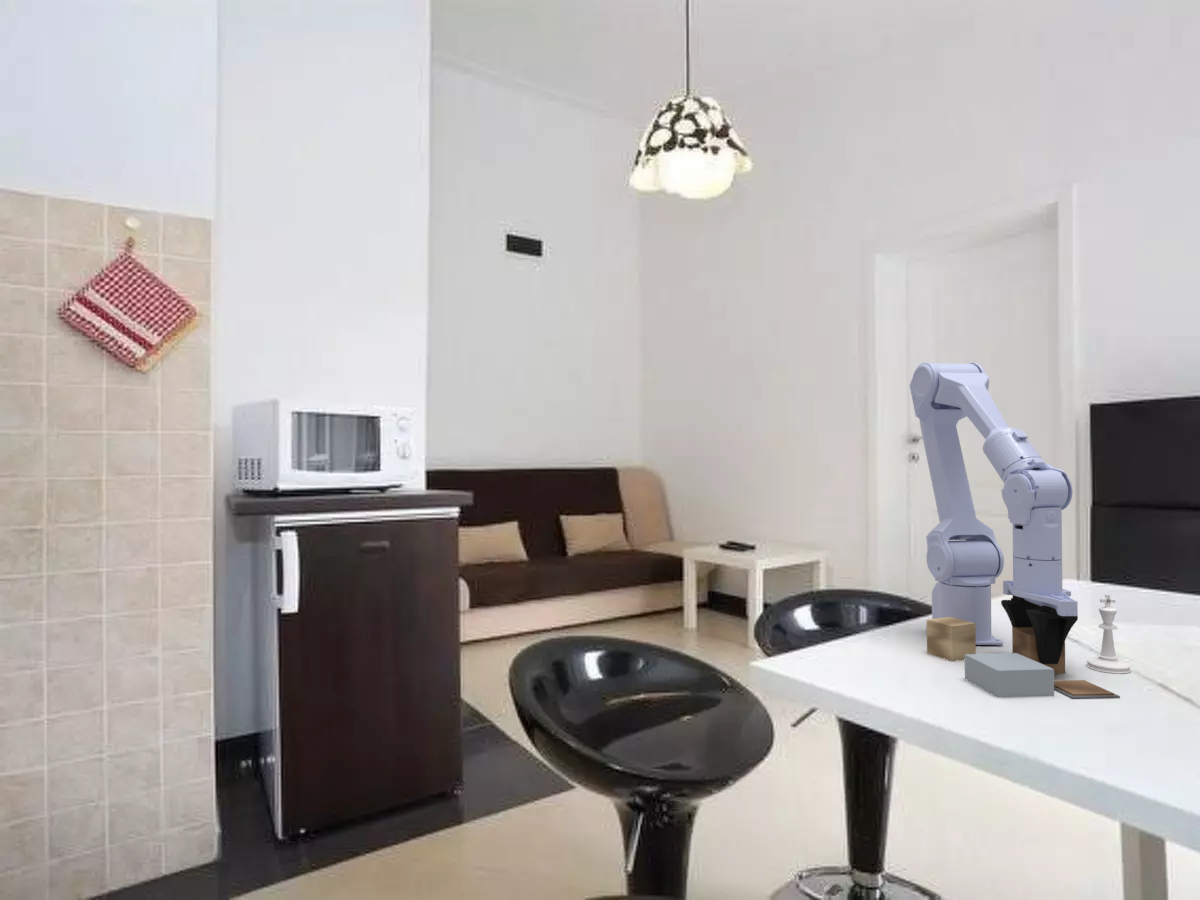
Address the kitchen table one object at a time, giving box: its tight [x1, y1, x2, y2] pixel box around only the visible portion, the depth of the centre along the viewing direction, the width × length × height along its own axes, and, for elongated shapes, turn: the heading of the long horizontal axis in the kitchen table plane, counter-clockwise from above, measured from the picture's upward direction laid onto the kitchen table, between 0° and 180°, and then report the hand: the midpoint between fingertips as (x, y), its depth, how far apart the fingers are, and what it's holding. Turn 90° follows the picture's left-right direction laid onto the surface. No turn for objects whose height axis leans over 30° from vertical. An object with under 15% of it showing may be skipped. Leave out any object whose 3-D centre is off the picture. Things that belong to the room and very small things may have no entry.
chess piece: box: [1085, 593, 1132, 675], centre depth 97 cm, size 5×5×10 cm
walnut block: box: [1011, 626, 1066, 675], centre depth 97 cm, size 4×4×5 cm
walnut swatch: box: [1054, 679, 1121, 700], centre depth 88 cm, size 6×6×1 cm
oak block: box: [926, 617, 977, 662], centre depth 103 cm, size 4×4×5 cm
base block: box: [964, 652, 1055, 698], centre depth 89 cm, size 7×7×4 cm
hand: (1038, 657), depth 97 cm, fingers closed on walnut block, 4 cm apart
